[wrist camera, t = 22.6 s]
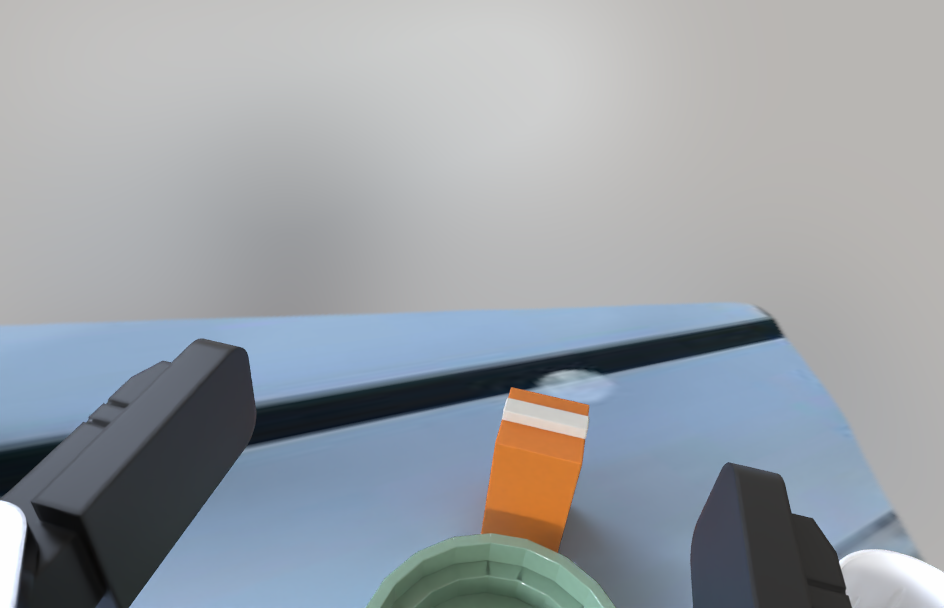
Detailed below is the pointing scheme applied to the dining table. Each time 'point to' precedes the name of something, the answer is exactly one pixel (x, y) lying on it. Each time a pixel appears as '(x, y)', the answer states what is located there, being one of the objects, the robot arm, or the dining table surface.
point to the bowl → (489, 577)
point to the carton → (535, 467)
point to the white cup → (891, 580)
